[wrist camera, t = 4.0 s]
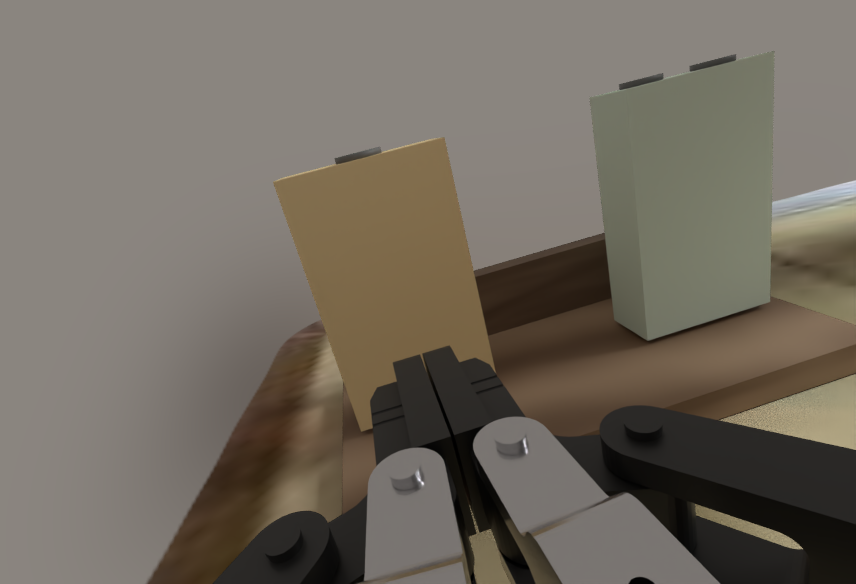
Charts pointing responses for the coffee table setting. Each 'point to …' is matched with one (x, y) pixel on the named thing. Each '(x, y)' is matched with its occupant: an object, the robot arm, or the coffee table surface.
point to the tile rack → (624, 353)
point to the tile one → (386, 262)
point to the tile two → (687, 193)
